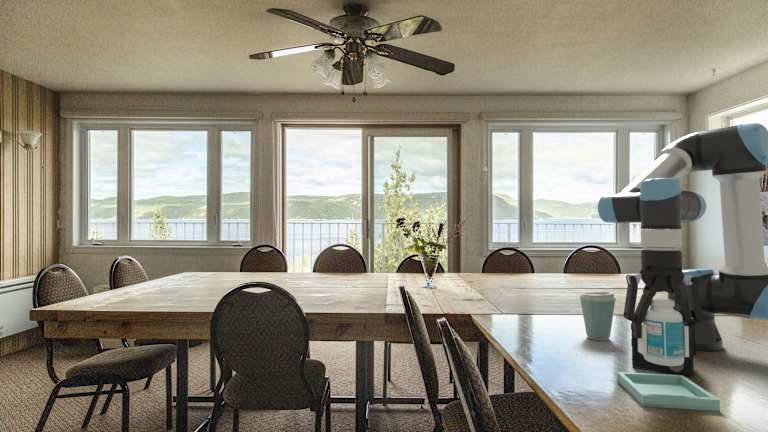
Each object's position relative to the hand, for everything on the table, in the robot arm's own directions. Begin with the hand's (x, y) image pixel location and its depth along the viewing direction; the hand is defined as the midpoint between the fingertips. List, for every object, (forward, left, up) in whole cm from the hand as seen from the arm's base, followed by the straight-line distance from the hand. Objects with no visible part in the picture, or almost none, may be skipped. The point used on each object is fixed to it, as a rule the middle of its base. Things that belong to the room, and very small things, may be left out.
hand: (662, 354), depth 92 cm
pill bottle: (0, 0, -2) cm, 2 cm away
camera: (-8, -19, -9) cm, 23 cm away
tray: (0, 0, -9) cm, 9 cm away
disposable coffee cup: (-1, -47, -9) cm, 48 cm away
